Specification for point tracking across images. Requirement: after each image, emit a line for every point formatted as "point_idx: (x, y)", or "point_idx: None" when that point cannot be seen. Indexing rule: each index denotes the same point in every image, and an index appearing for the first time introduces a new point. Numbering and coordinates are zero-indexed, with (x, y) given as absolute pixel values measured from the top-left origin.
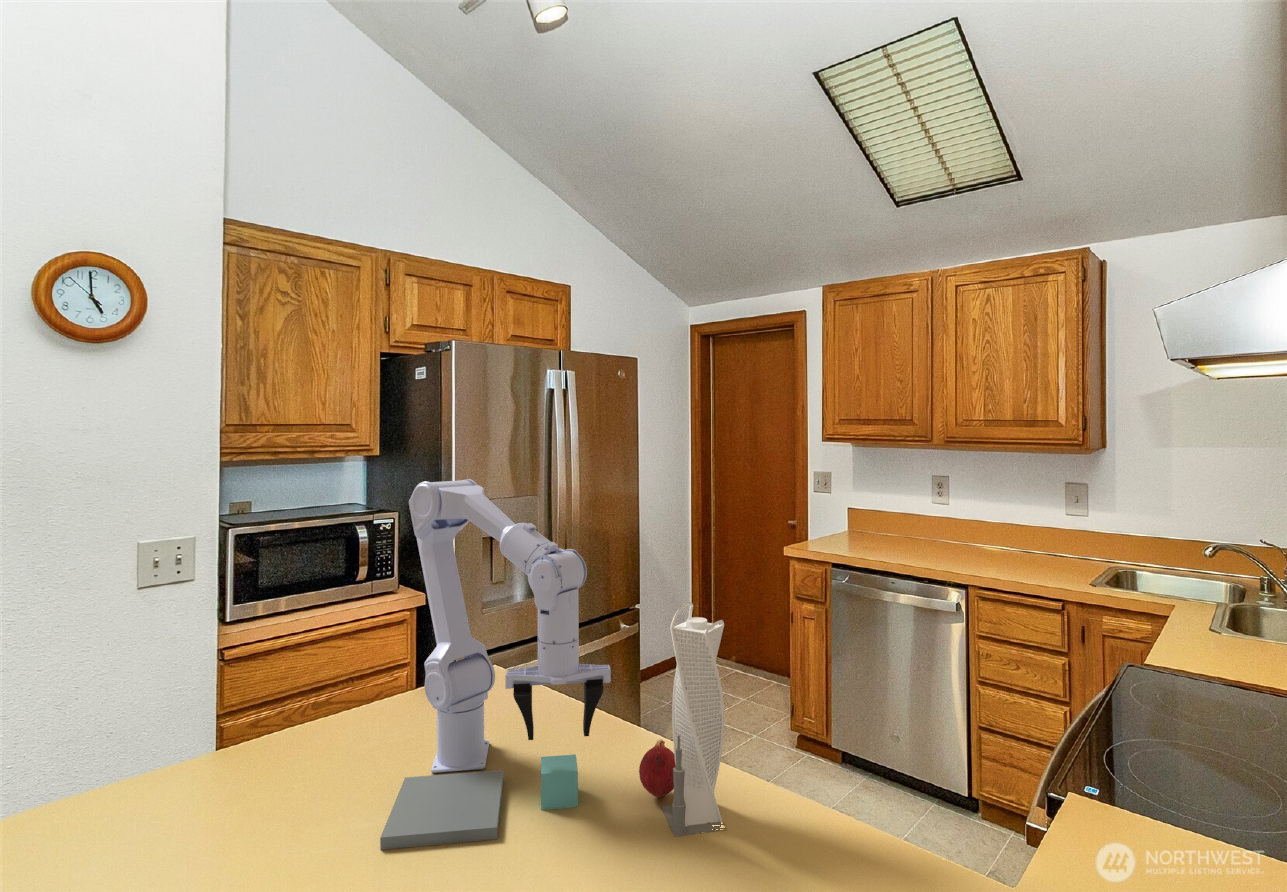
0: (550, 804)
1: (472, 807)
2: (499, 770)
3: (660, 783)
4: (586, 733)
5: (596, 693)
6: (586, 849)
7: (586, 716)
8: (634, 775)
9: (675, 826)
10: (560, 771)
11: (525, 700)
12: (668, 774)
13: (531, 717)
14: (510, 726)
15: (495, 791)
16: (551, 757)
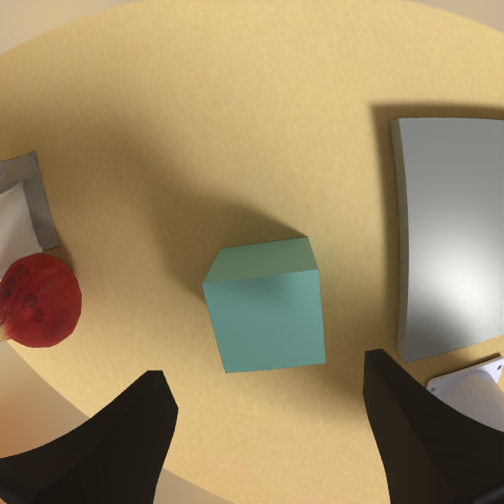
0: (285, 243)
1: (459, 210)
2: (410, 360)
3: (29, 255)
4: (148, 374)
5: (6, 470)
6: (179, 81)
7: (117, 416)
8: (128, 357)
9: (25, 159)
10: (256, 282)
11: (484, 464)
12: (10, 266)
13: (402, 408)
14: (373, 480)
15: (420, 277)
16: (294, 359)
